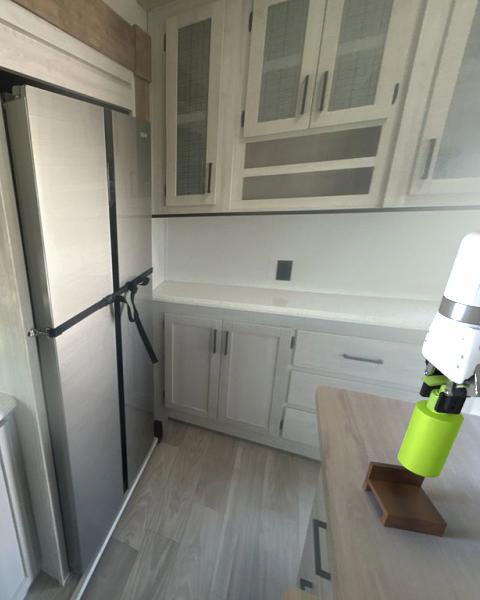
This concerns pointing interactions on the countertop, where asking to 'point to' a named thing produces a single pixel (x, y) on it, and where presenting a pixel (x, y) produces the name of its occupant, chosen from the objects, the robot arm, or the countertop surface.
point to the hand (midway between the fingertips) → (438, 403)
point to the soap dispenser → (429, 434)
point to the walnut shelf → (403, 499)
